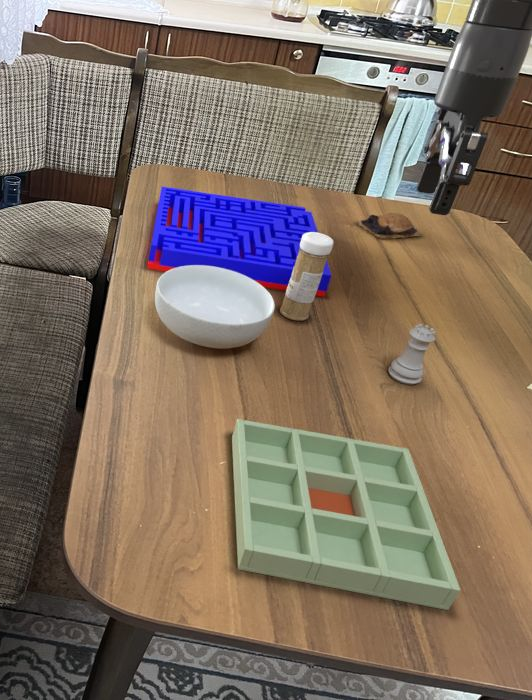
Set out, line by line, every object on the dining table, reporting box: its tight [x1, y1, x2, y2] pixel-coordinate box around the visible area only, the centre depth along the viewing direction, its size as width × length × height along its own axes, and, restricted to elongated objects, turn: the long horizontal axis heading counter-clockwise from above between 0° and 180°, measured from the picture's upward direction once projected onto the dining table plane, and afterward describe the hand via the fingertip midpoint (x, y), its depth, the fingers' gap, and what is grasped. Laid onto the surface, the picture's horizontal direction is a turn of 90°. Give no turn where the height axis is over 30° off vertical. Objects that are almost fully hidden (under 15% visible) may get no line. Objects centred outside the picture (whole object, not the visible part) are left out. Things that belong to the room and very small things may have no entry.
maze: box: [146, 186, 333, 297], centre depth 127 cm, size 30×30×4 cm
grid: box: [231, 418, 461, 611], centre depth 72 cm, size 20×20×3 cm
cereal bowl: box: [154, 265, 276, 349], centre depth 100 cm, size 17×17×7 cm
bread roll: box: [358, 212, 421, 240], centre depth 141 cm, size 11×8×4 cm
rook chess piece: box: [388, 323, 436, 386], centre depth 94 cm, size 4×4×8 cm
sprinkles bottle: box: [279, 232, 335, 322], centre depth 105 cm, size 5×5×13 cm
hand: (430, 202), depth 87 cm, fingers open, 8 cm apart
